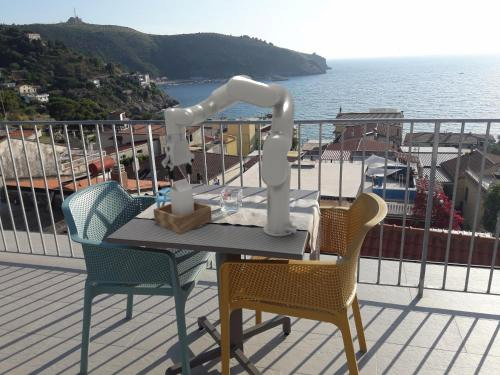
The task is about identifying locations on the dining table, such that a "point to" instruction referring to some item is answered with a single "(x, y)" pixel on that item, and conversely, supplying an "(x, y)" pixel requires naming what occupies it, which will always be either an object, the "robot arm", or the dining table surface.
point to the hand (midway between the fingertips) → (180, 176)
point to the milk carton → (181, 198)
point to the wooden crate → (182, 218)
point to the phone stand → (162, 197)
